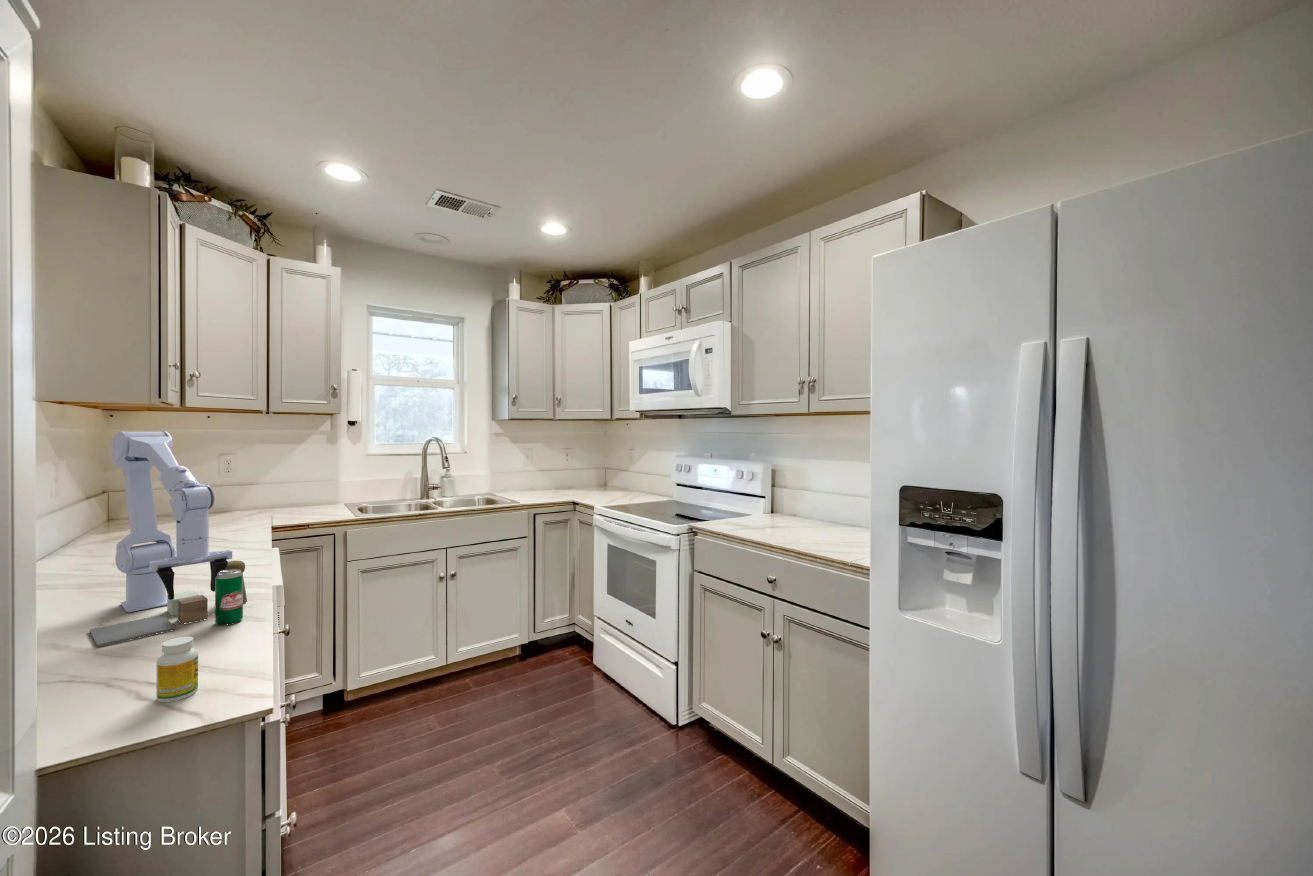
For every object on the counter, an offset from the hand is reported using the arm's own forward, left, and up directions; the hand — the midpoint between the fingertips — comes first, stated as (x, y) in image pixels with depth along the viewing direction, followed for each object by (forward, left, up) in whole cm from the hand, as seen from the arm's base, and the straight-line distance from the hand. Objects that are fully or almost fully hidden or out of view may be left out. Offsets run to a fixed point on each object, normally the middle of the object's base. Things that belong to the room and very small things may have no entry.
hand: (192, 594), depth 123 cm
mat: (-1, -10, -6) cm, 12 cm away
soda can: (+8, +5, -6) cm, 11 cm away
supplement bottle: (+41, -10, -6) cm, 43 cm away
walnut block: (0, 0, -6) cm, 6 cm away
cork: (-6, +9, -6) cm, 13 cm away
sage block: (-9, 0, -6) cm, 11 cm away
